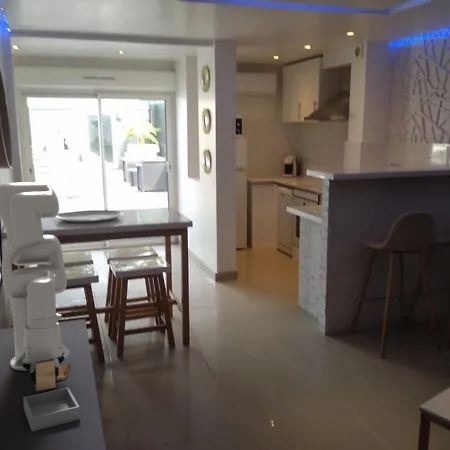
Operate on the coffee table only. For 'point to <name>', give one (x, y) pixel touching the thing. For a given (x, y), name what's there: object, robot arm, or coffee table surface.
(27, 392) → the coffee table surface
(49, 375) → the oak block
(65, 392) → the tray
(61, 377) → the shard
